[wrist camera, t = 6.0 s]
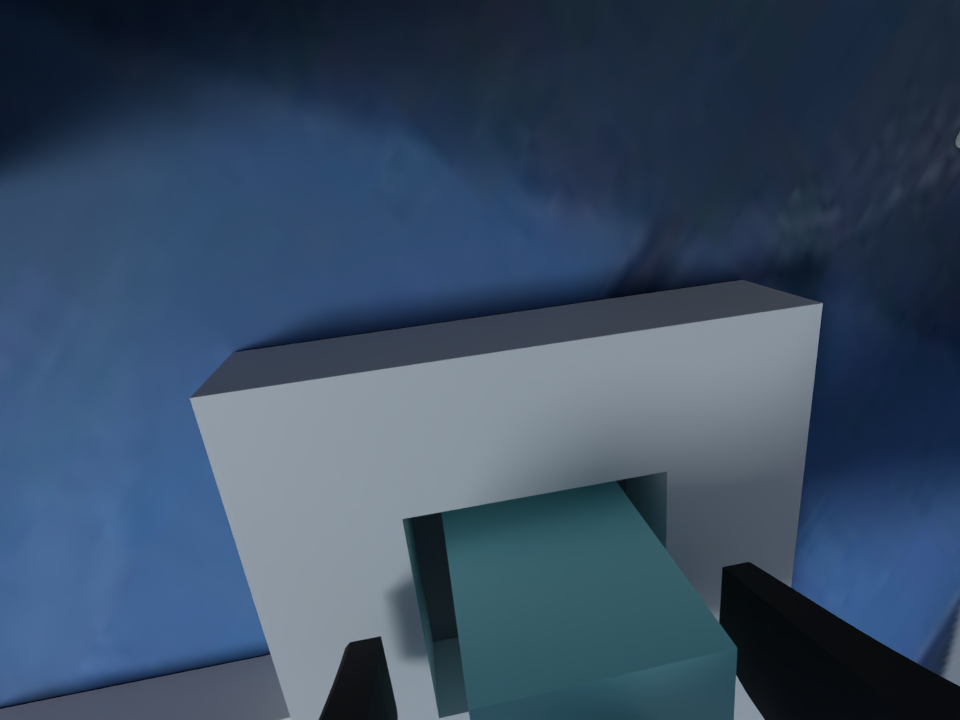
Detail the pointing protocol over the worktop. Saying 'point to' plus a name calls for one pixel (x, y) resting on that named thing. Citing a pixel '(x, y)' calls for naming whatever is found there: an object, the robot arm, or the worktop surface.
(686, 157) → the worktop surface
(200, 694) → the white square tray
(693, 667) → the plug
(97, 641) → the worktop surface
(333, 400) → the port
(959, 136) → the skincare box
